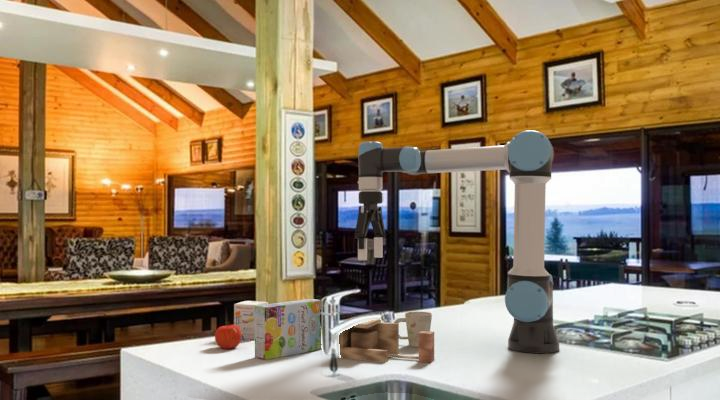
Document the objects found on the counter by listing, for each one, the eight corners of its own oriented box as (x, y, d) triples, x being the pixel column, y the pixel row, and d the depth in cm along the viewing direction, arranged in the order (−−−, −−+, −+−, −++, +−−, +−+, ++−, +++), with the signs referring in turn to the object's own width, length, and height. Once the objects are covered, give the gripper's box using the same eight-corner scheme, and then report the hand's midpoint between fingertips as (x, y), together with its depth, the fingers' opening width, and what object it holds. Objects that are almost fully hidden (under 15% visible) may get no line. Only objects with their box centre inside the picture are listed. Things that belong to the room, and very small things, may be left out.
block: (435, 359, 181) (435, 330, 181) (429, 363, 176) (429, 334, 176) (358, 353, 190) (358, 325, 190) (351, 357, 184) (351, 329, 184)
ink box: (232, 338, 213) (233, 303, 213) (246, 334, 221) (246, 300, 221) (255, 340, 210) (255, 304, 210) (268, 336, 217) (268, 301, 218)
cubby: (398, 354, 188) (398, 320, 188) (386, 362, 178) (386, 325, 178) (352, 350, 193) (352, 317, 194) (338, 357, 183) (338, 322, 183)
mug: (430, 348, 196) (430, 315, 196) (389, 347, 199) (389, 314, 199) (433, 343, 204) (433, 311, 205) (393, 342, 207) (393, 310, 207)
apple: (246, 347, 198) (247, 321, 198) (224, 351, 192) (225, 324, 192) (231, 344, 203) (231, 318, 203) (209, 348, 197) (209, 321, 197)
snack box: (310, 347, 199) (310, 298, 199) (322, 349, 195) (322, 299, 195) (253, 357, 184) (253, 304, 184) (265, 360, 180) (265, 306, 180)
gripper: (373, 192, 215) (373, 256, 215) (343, 189, 192) (343, 260, 192) (394, 192, 213) (395, 256, 212) (366, 189, 190) (367, 261, 189)
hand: (370, 258), depth 202 cm, fingers open, 13 cm apart
